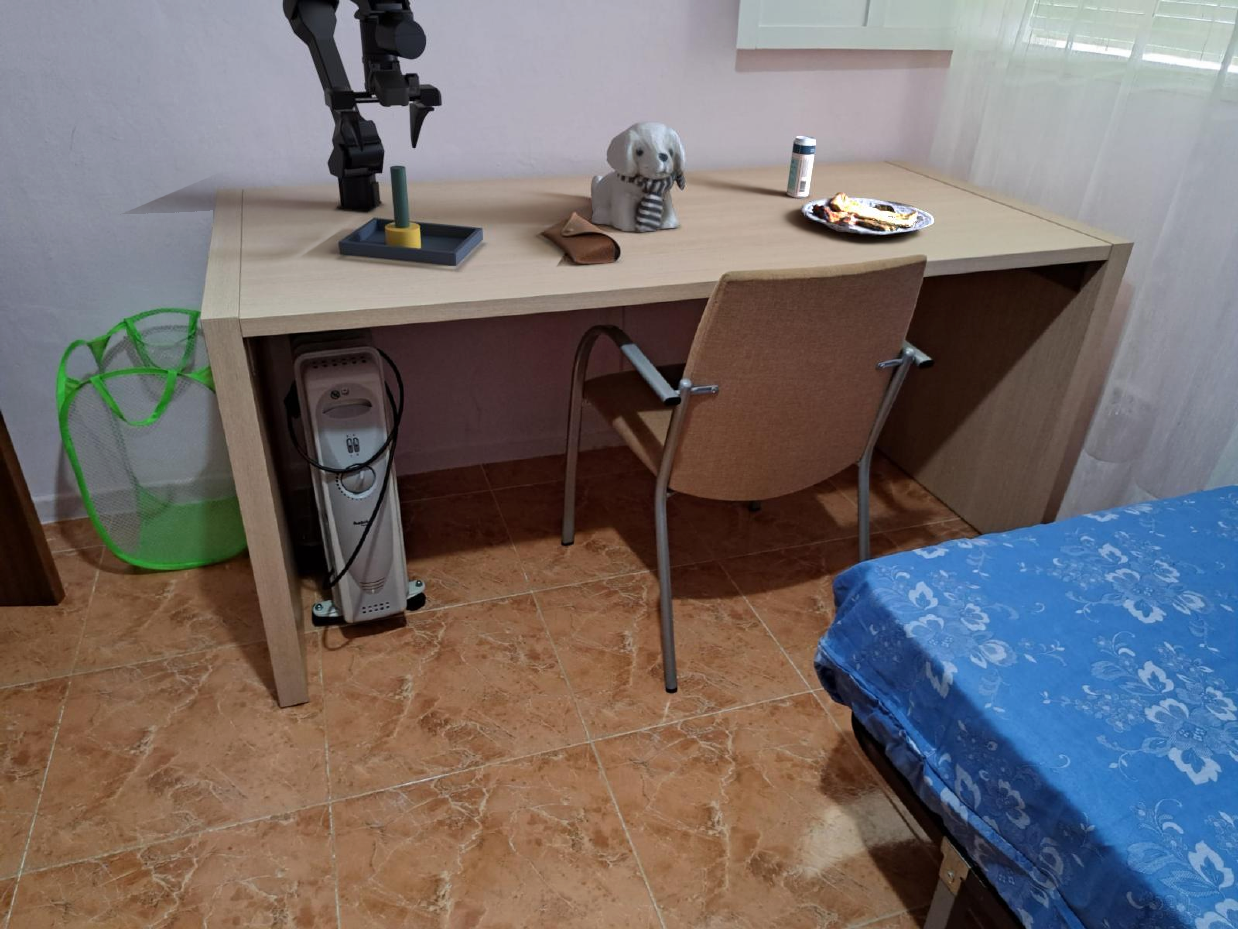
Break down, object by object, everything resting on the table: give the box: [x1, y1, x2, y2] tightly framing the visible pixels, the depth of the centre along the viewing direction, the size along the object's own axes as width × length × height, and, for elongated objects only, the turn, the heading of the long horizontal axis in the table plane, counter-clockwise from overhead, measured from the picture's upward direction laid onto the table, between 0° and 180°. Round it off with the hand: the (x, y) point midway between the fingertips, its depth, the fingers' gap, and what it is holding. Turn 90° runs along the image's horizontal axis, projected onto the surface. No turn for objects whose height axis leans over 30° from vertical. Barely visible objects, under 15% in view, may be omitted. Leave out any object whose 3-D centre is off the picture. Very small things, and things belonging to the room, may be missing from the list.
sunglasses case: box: [540, 211, 622, 265], centre depth 156 cm, size 18×7×7 cm
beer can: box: [786, 135, 817, 199], centre depth 192 cm, size 5×5×12 cm
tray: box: [338, 217, 484, 267], centre depth 151 cm, size 20×15×3 cm
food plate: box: [800, 192, 934, 236], centre depth 177 cm, size 25×23×4 cm
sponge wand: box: [385, 165, 421, 248], centre depth 147 cm, size 6×6×13 cm
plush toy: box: [590, 121, 687, 233], centre depth 170 cm, size 18×25×18 cm
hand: (388, 149), depth 158 cm, fingers open, 9 cm apart
